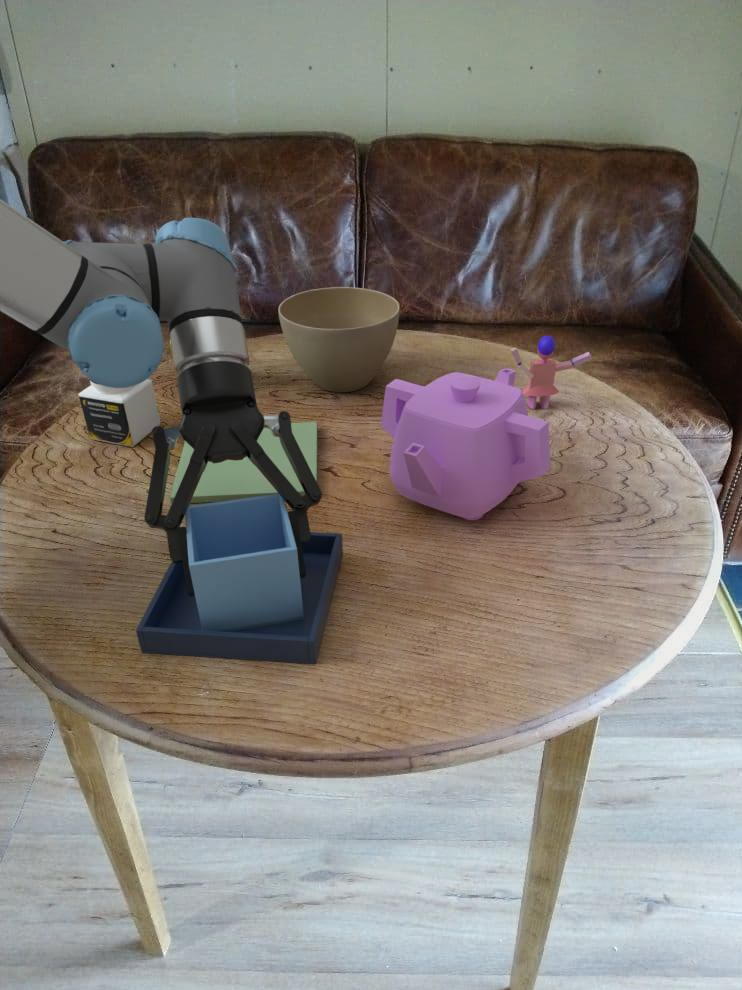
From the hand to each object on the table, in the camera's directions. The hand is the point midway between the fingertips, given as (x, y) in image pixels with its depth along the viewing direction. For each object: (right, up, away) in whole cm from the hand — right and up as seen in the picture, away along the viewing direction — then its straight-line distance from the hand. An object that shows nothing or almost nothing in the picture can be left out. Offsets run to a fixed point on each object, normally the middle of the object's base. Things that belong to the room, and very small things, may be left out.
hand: (247, 585), depth 79 cm
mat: (-5, +15, +27) cm, 31 cm away
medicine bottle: (-24, +20, +34) cm, 46 cm away
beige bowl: (+6, +29, +47) cm, 56 cm away
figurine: (+37, +24, +41) cm, 60 cm away
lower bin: (-1, -2, +5) cm, 5 cm away
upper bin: (-1, -1, +5) cm, 5 cm away
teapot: (+23, +11, +22) cm, 33 cm away
